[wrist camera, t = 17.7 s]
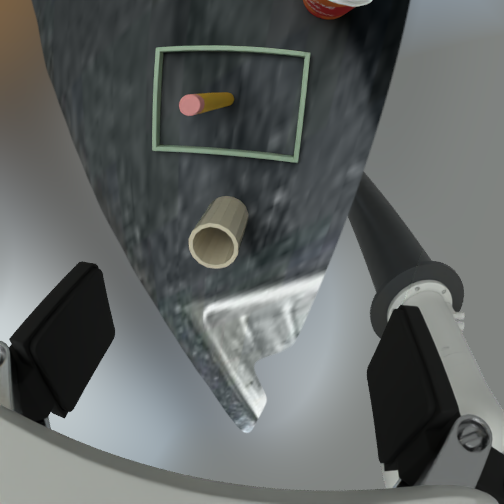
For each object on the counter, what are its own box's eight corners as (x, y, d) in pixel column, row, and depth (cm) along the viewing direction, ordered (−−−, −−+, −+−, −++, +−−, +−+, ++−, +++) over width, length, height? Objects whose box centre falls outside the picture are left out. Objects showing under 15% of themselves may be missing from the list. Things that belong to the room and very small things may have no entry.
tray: (309, 54, 33) (310, 52, 32) (297, 159, 40) (297, 163, 39) (161, 49, 35) (155, 47, 33) (157, 147, 42) (152, 150, 40)
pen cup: (250, 197, 44) (239, 226, 35) (247, 234, 46) (236, 271, 38) (209, 192, 44) (188, 220, 35) (208, 230, 47) (189, 265, 38)
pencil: (234, 92, 37) (201, 94, 23) (233, 106, 37) (199, 116, 23) (220, 92, 37) (179, 94, 23) (219, 105, 38) (178, 115, 24)
